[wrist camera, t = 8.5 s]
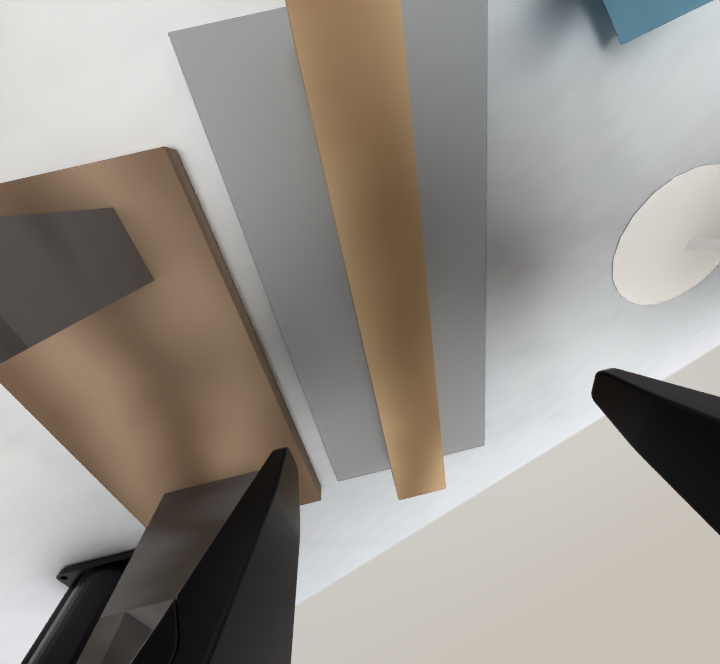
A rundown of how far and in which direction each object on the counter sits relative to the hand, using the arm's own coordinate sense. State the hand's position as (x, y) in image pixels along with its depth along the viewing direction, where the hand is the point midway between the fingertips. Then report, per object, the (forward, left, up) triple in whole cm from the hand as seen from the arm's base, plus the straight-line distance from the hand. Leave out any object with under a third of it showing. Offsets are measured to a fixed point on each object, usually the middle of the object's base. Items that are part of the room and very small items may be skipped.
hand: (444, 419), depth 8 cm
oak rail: (0, 0, -8) cm, 8 cm away
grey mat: (0, 0, -8) cm, 8 cm away
